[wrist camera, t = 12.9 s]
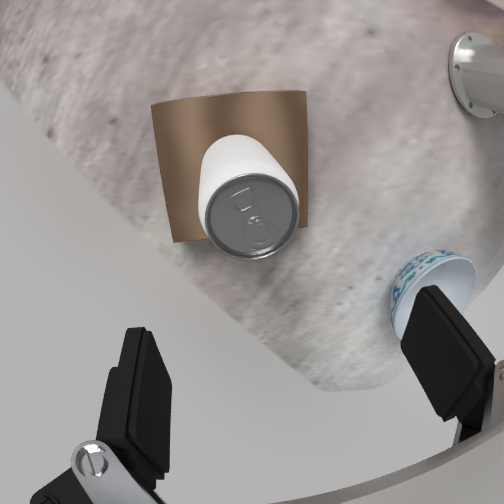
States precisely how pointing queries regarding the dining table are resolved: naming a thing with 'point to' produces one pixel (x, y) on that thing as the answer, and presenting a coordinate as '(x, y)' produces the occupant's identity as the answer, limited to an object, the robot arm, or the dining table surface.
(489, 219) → the dining table surface
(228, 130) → the base
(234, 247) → the can
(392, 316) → the chinaware
